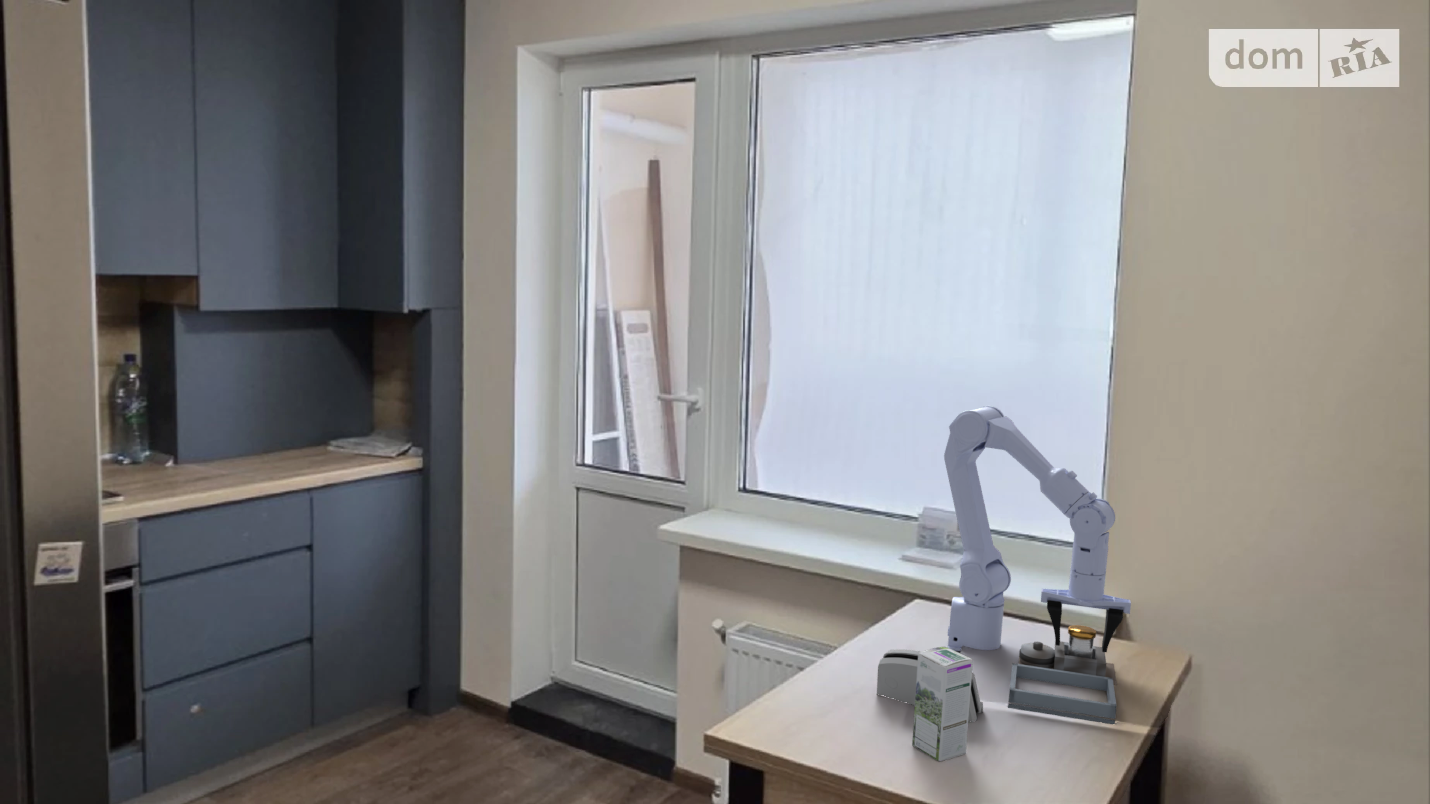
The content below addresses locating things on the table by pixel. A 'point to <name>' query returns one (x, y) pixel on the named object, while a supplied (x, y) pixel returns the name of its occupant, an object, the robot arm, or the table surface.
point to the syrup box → (942, 703)
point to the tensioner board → (1066, 660)
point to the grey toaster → (911, 679)
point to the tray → (1062, 701)
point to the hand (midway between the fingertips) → (1080, 646)
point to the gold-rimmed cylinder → (1081, 641)
